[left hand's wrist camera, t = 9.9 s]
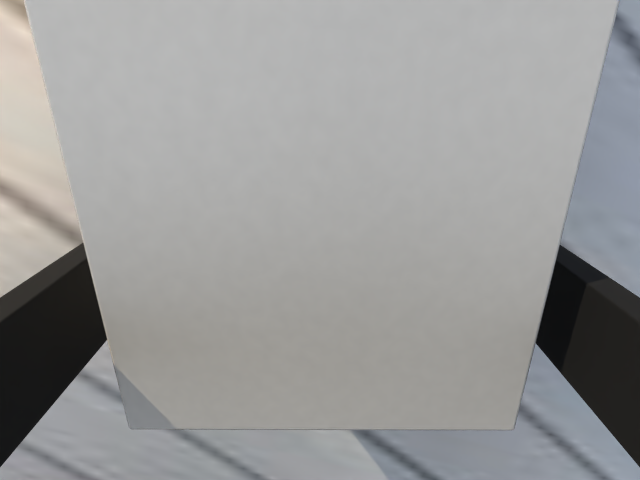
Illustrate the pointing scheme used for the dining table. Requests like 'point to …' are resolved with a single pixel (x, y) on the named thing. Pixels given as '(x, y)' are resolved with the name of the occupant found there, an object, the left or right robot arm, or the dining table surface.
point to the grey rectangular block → (321, 199)
